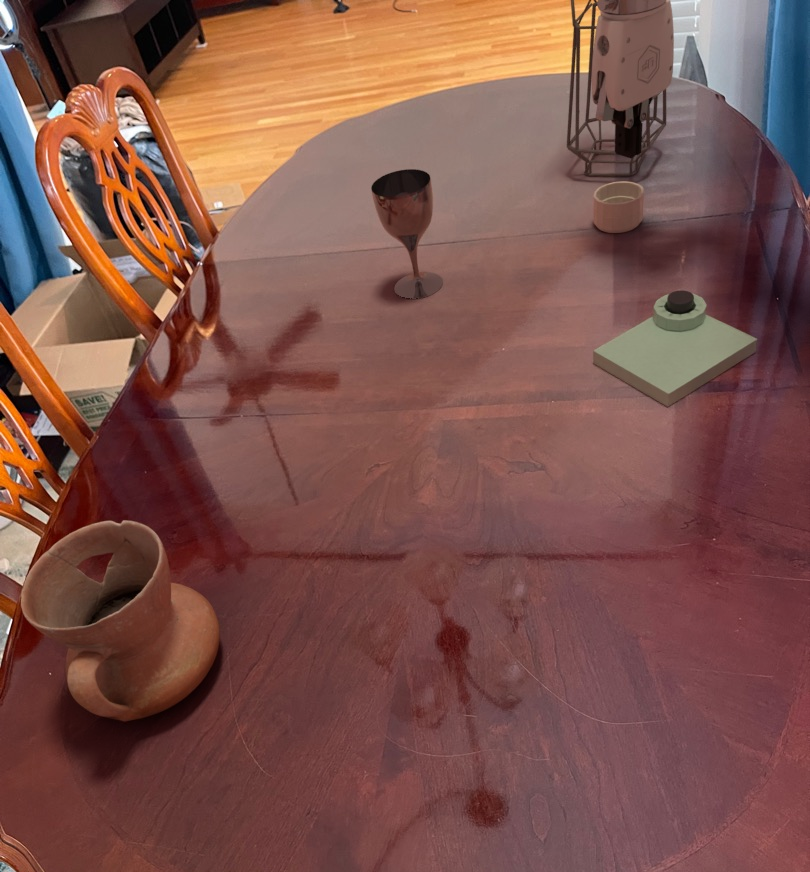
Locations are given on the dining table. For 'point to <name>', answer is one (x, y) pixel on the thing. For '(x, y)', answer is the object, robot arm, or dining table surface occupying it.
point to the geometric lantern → (577, 131)
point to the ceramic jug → (122, 621)
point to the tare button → (680, 302)
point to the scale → (674, 352)
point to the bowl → (618, 206)
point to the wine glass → (407, 223)
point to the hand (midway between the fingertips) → (627, 153)
